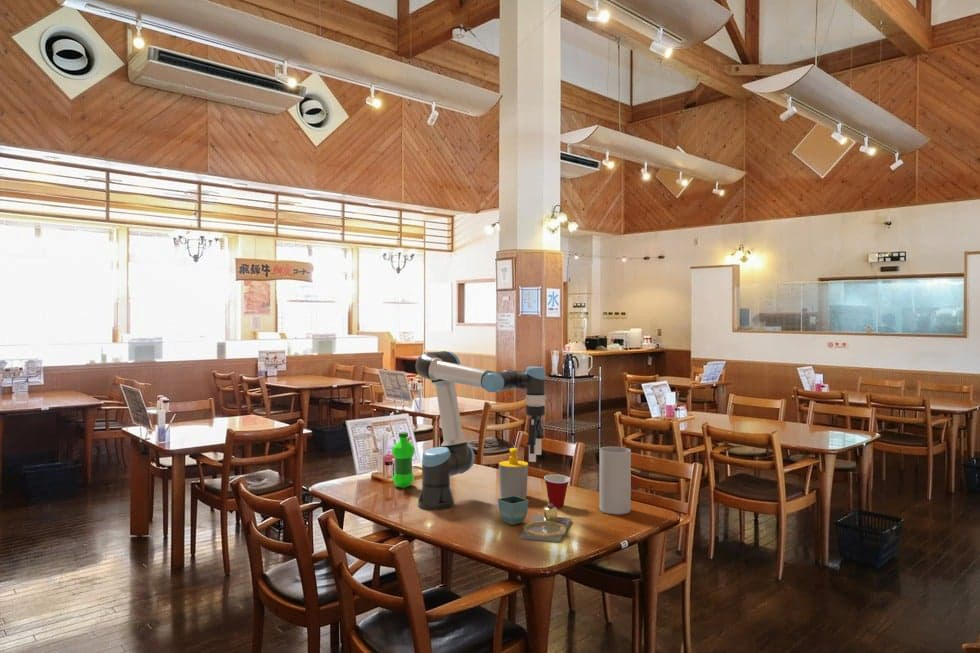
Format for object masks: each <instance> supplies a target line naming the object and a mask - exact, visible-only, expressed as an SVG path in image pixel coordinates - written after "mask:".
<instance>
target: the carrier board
mask: <svg viewBox="0 0 980 653" xmlns="http://www.w3.org/2000/svg"><path fill="white" fill-rule="evenodd" d="M571 522H572V518H571V517H562V516H561V517H560V516H558V508H556V507H553V504H552V503H549V502H548V503H547V506H544V507H543V515H540V514H539V515H538V514H535V515H534V517H533V518H532V520H531V521H530V522H528V523H527V522H526V523H525V524H524V526H523V527H522V530H523V531H522V533H521V534H520V539H521V540H528V541H529V540H530V541H531V540H532V541H538V542H539V541H541V542H550V543H561V541H562V539H563V538H564V535H565V533H566V532H567V530H568V528H569V526H570V524H571Z"/></svg>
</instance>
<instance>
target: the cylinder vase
mask: <svg viewBox="0 0 980 653" xmlns="http://www.w3.org/2000/svg"><path fill="white" fill-rule="evenodd" d="M631 450H632V449H630V448H629V447H628V448H627V447H622V446H603V447H599V494H598V495H599V500H598V501H599V508H598V509H599V511H600V512H602V513H605V514H609V515H613V516H614V515H618V516H619V515H626V514H629V513H630V512H631V507H632V506H631V504H632V503H631V498H632V497H631V496H632V494H631V491H632V489H631V488H632V487H631V486H632V484H631V483H632V478H631V477H632V474H631V473H632V472H631V468H632V467H631V465H632V462H631V461H632V459H631V457H632V453H631V452H632V451H631Z"/></svg>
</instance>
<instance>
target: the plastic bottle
mask: <svg viewBox="0 0 980 653" xmlns="http://www.w3.org/2000/svg"><path fill="white" fill-rule="evenodd" d="M408 437H409V432H406V431H405V432H404V431H401V432H399V433H398V438H399V440H398V441H397V443H395V444H394V445H393V446H392V449H391V453H392V456H393V457H394V474H393V476H392V482H393V483H394V485H396V486H397V487H398V488H401V489H404V488H409V486H411V484H413V482H414V480H415V476H414V473H413V456H414V455H415V452H416V451H415V446H414V445H413V444H412V443H411V442H410V441H409V440H408Z"/></svg>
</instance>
